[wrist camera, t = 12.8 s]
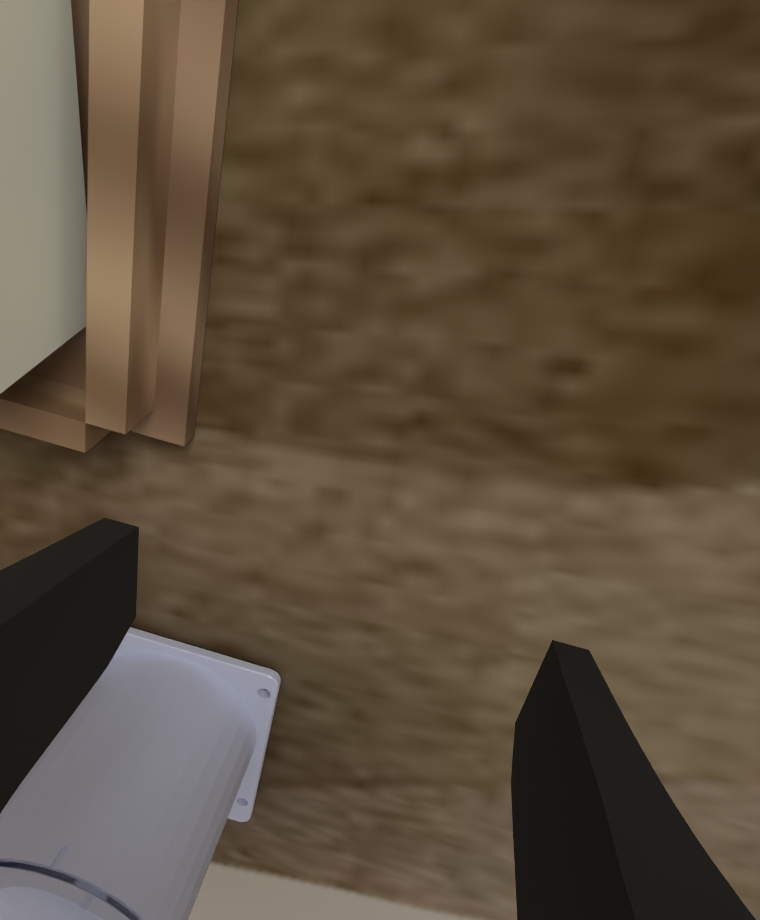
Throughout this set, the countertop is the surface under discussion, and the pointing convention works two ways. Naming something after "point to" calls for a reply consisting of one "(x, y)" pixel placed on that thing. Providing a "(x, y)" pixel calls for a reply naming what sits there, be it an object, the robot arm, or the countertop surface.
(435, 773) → the countertop surface
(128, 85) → the tray
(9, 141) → the clay strip
